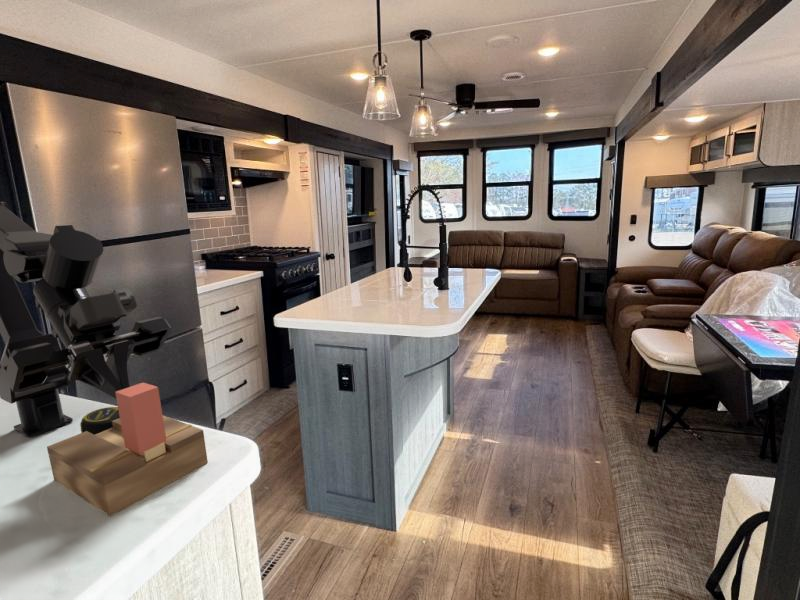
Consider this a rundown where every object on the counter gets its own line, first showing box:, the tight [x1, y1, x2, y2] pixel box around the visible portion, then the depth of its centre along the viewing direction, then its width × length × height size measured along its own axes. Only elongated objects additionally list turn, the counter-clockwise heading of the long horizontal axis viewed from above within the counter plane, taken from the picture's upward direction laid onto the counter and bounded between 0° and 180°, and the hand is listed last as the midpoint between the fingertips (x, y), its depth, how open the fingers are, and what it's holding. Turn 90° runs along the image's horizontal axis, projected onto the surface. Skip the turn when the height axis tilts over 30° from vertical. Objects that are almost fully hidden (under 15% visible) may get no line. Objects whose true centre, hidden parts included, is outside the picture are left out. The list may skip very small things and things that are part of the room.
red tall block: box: [115, 382, 167, 462], centre depth 58 cm, size 4×4×9 cm
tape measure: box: [79, 406, 120, 435], centre depth 73 cm, size 7×7×4 cm
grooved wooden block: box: [46, 414, 209, 517], centre depth 62 cm, size 15×13×5 cm
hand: (127, 399), depth 59 cm, fingers closed
